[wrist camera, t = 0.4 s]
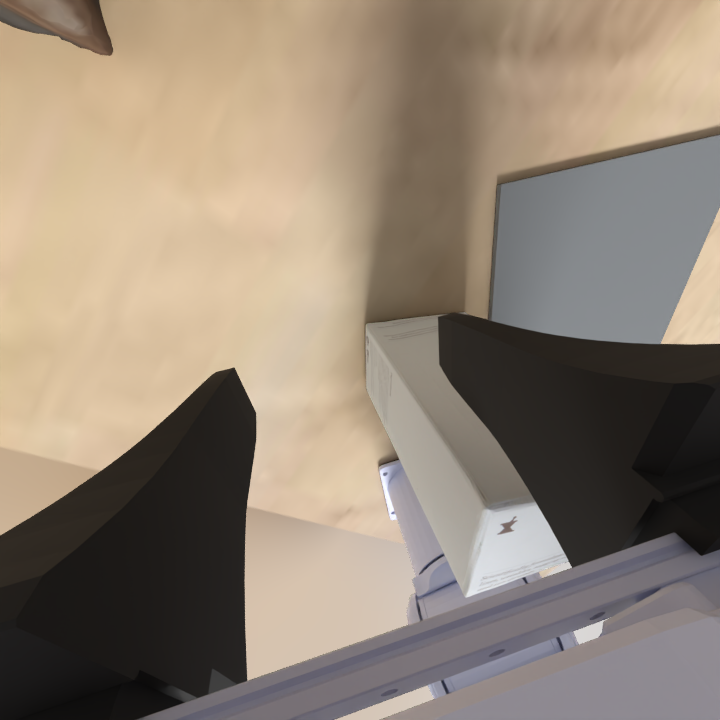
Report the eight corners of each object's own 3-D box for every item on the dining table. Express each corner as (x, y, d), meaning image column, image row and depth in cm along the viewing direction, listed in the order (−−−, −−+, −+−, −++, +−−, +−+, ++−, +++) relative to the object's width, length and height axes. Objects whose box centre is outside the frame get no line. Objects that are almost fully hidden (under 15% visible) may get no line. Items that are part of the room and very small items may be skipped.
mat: (643, 370, 30) (648, 372, 30) (481, 418, 29) (484, 421, 29) (746, 128, 20) (754, 127, 19) (497, 184, 18) (501, 184, 18)
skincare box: (364, 386, 24) (450, 608, 11) (363, 316, 21) (480, 517, 8) (459, 372, 25) (628, 556, 13) (472, 305, 22) (711, 463, 10)
